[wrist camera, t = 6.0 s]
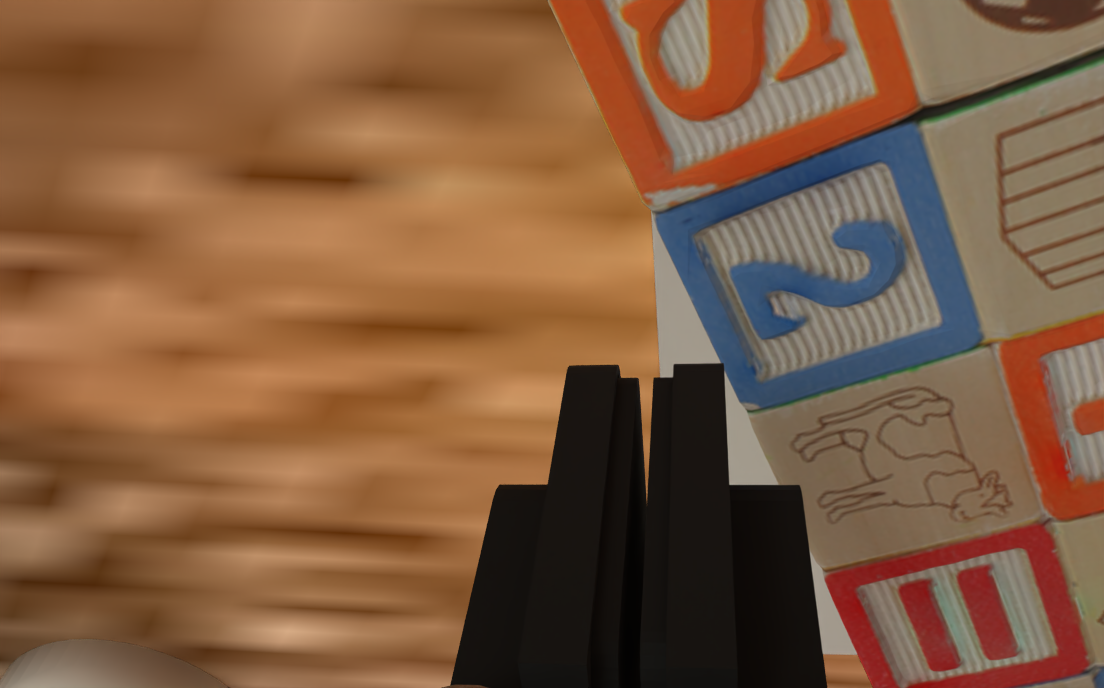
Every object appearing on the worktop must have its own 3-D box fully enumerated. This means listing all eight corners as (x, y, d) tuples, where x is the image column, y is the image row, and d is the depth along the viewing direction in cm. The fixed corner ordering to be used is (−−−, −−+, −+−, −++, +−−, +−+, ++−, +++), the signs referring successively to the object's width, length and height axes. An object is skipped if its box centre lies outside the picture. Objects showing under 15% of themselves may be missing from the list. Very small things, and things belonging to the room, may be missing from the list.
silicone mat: (592, -902, 11) (589, -917, 11) (2014, -1185, 10) (2061, -1215, 9) (675, 637, 25) (675, 651, 25) (1262, 647, 23) (1270, 662, 23)
